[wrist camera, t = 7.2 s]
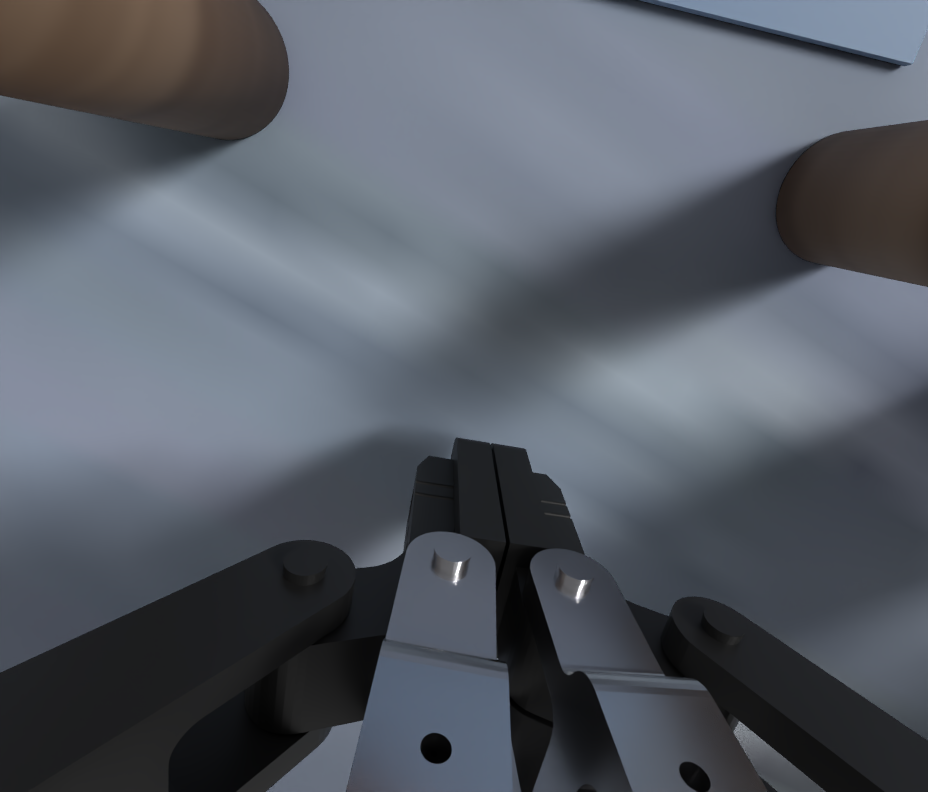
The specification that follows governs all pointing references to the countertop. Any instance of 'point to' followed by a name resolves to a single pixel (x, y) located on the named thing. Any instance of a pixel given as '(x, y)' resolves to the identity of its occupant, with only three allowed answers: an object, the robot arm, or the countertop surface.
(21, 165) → the countertop surface
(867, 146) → the post
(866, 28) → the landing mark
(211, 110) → the post
